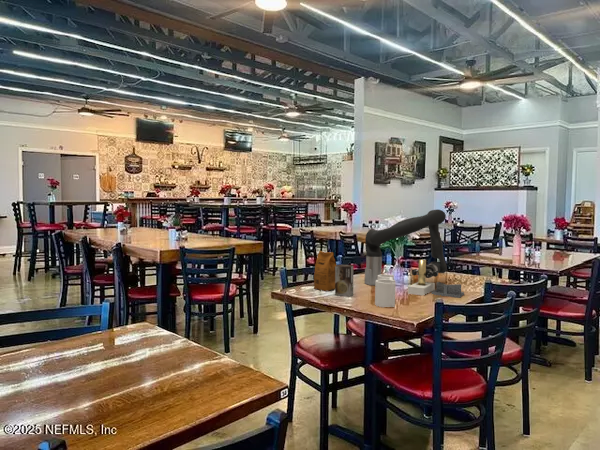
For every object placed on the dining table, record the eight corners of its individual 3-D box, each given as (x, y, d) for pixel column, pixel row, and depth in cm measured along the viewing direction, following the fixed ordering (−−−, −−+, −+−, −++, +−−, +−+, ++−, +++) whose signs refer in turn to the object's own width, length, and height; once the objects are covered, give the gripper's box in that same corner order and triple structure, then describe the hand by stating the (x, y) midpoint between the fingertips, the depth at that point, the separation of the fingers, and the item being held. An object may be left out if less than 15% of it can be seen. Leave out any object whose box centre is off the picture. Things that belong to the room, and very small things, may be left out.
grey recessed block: (423, 295, 249) (423, 288, 248) (407, 293, 254) (408, 286, 253) (434, 289, 265) (434, 282, 265) (419, 287, 270) (419, 281, 270)
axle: (420, 292, 257) (421, 260, 256) (416, 291, 261) (417, 259, 260) (426, 292, 258) (427, 260, 257) (422, 290, 262) (423, 259, 261)
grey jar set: (376, 296, 246) (376, 274, 246) (394, 297, 244) (394, 274, 244) (374, 307, 222) (375, 282, 221) (394, 308, 220) (395, 283, 219)
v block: (459, 297, 244) (459, 286, 243) (431, 294, 252) (431, 283, 252) (463, 294, 252) (464, 283, 252) (436, 291, 260) (437, 280, 260)
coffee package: (323, 286, 271) (323, 249, 270) (338, 289, 262) (339, 251, 260) (311, 288, 264) (311, 250, 263) (326, 292, 255) (326, 253, 254)
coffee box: (353, 294, 250) (354, 265, 249) (351, 296, 244) (351, 266, 243) (337, 292, 253) (337, 264, 252) (334, 295, 247) (335, 265, 246)
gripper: (418, 263, 275) (409, 266, 261) (442, 265, 267) (433, 269, 253) (417, 275, 275) (408, 279, 261) (441, 278, 267) (433, 282, 254)
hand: (421, 274), depth 257 cm, fingers open, 8 cm apart
